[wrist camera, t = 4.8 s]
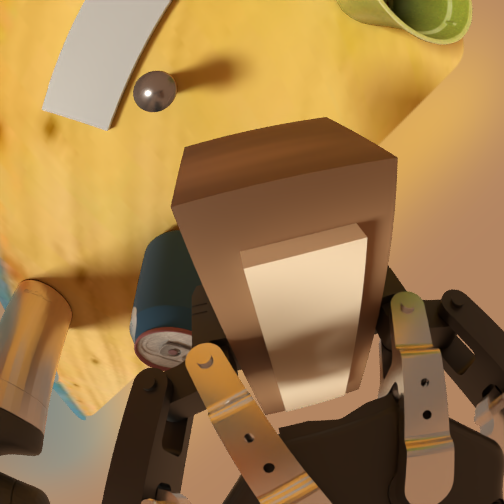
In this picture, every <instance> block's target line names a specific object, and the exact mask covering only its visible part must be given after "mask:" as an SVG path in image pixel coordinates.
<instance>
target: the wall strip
mask: <svg viewBox="0 0 504 504" xmlns="http://www.w3.org/2000/svg"><path fill="white" fill-rule="evenodd" d="M171 2H172V0H85V1H84V3H83V5H82V7H81V9H80V11H79V13H78V15H77V17H76V19H75V21H74V23H73V25H72V27H71V29H70V31H69V34H68V36H67V38H66V41H65V43H64V45H63V48H62V50H61V53H60V55H59V58H58V60H57V63H56V66H55V69H54V71H53V74H52V77H51V80H50V83H49V86H48V90H47V93H46V96H45V100H44V103H43V107H42V110H44V111H47V112H51V113H54V114H57V115H61V116H64V117H67V118H70V119H73V120H76V121H79V122H82V123H85V124H88V125H91V126H94V127H97V128H100V129H103V130H106V131H108V130H109V129H110V127H111V124H112V121H113V118H114V116H115V113H116V111H117V108H118V105H119V103H120V100H121V98H122V96H123V93H124V91H125V88H126V86H127V84H128V82H129V79H130V77H131V75H132V73H133V71H134V69H135V66H136V64H137V62H138V60H139V58H140V56H141V54H142V52H143V50H144V48H145V46H146V45H147V43H148V41H149V39H150V37H151V35H152V33H153V32H154V30H155V28H156V26H157V25H158V23H159V21H160V20H161V18H162V16H163V15H164V13H165V11H166V10H167V8H168V6H169V5H170V3H171Z"/></svg>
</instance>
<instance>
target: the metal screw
mask: <svg viewBox="0 0 504 504" xmlns="http://www.w3.org/2000/svg"><path fill="white" fill-rule="evenodd" d="M176 94H177V85H176V82H175V80H174V78H173V77H172V76H171V75H170V74H168V73H166V72H163V71H152V72H148V73H146V74H144V75H143V76H141V77H140V78H139V79H138V81H137V82H136V84H135V86H134V90H133V96H134V100H135V102H136V104H137V105H138V106H139V107H140V108H141V109H143V110H145V111H148V112H158V111H161V110H163V109H165V108H167V107H168V106H169V105H170V104H171V103H172V102H173V100H174V99H175V97H176Z"/></svg>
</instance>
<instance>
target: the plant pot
mask: <svg viewBox="0 0 504 504" xmlns="http://www.w3.org/2000/svg"><path fill="white" fill-rule="evenodd" d="M387 1H388V3H389V7H388V6H387V5H386V3H387ZM337 2H338V4H339V5H340V7H341V9H342V10H343V11H344V12H345V13H346V14H347V15H349V16H350V17H351V18H353V19H355V20H357V21H359V22H362V23H365V24H370V25H379V26H386V27H393V28H399V29H403V30H405V31H407V32H408V33H410V34H412V35H413V36H415V37H417V38H419V39H421V40H424V41H427V42H430V43H434V44H443V45H445V44H451V43H455V42H457V41H459V40H460V39H462V38H463V37H464V36H465V34H466V33H467V31H468V29H469V27H470V25H471V21H472V2H471V0H337Z"/></svg>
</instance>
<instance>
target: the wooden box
mask: <svg viewBox="0 0 504 504" xmlns="http://www.w3.org/2000/svg"><path fill="white" fill-rule="evenodd" d="M396 182H397V157H395V156H394V155H392V154H391V153H389V152H388V151H386V150H384V149H383V148H381V147H379V146H378V145H376V144H374V143H373V142H371V141H369V140H368V139H366V138H364V137H362V136H361V135H359V134H357V133H355V132H354V131H352V130H350V129H348V128H346V127H344V126H342V125H340V124H339V123H337V122H335V121H333V120H331V119H329V118H327V117H324V118H317V119H310V120H304V121H298V122H292V123H286V124H280V125H275V126H270V127H265V128H260V129H255V130H251V131H246V132H242V133H237V134H233V135H229V136H225V137H221V138H217V139H213V140H209V141H206V142H202V143H198V144H195V145H191V146H188V147H185V148H184V152H183V156H182V160H181V164H180V168H179V173H178V177H177V181H176V186H175V190H174V195H173V199H172V204H171V209H172V211H173V214H174V217H175V219H176V222H177V224H178V227H179V229H180V232H181V234H182V237H183V239H184V242H185V244H186V247H187V249H188V252H189V254H190V256H191V259H192V261H193V264H194V266H195V268H196V271H197V273H198V275H199V278H200V280H201V282H202V285H203V287H204V289H205V291H206V294H207V296H208V298H209V300H210V303H211V305H212V307H213V309H214V312H215V314H216V316H217V318H218V320H219V323H220V325H221V327H222V329H223V331H224V333H225V335H226V338H227V340H228V342H229V344H230V346H231V348H232V350H233V352H234V354H235V356H236V358H237V360H238V363H239V365H240V367H241V369H242V370H243V372H244V375H245V376H246V379H247V381H248V383H249V384H250V387H251V388H252V390H253V392H254V394H255V396H256V398H257V400H258V402H259V404H260V406H261V408H262V410H263V412H264V413H265V415H268V414H273V413H277V412H281V411H291V410H295V409H299V408H303V407H307V406H310V405H314V404H317V403H321V402H324V401H328V400H331V399H334V398H337V397H340V396H343V395H345V394H346V393H349V392H352V391H354V390H357V389H359V387H360V383H361V380H362V376H363V373H364V370H365V367H366V363H367V360H368V356H369V352H370V348H371V344H372V340H373V337H374V332H375V328H376V324H377V320H378V315H379V310H380V306H381V301H382V296H383V290H384V285H385V279H386V273H387V267H388V261H389V253H390V246H391V239H392V230H393V220H394V211H395V199H396Z"/></svg>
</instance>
